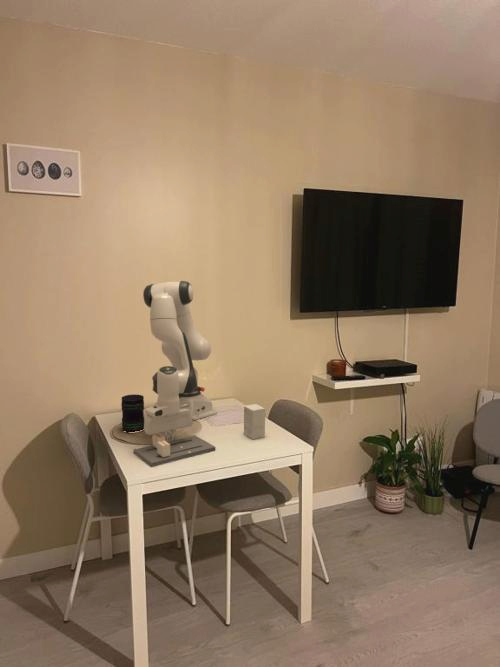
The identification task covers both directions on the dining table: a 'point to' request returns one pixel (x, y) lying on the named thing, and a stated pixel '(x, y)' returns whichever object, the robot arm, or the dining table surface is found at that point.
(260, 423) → the small box
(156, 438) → the fader
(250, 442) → the dining table surface
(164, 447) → the fader
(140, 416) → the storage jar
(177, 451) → the console
